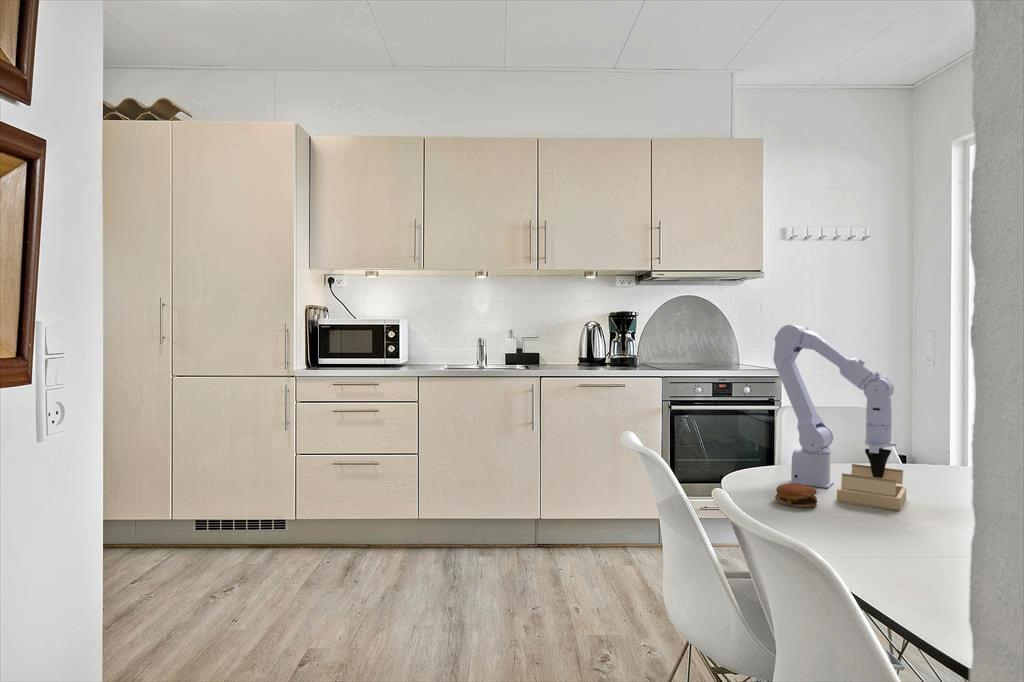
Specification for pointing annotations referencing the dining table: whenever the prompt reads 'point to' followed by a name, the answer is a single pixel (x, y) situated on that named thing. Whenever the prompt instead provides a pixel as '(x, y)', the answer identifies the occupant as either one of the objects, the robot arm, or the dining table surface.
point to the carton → (873, 498)
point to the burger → (796, 495)
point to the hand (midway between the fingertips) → (877, 477)
